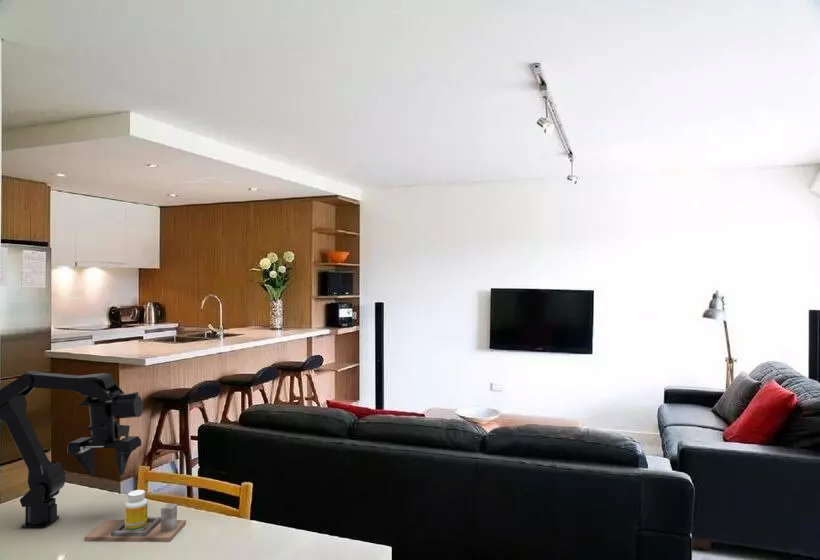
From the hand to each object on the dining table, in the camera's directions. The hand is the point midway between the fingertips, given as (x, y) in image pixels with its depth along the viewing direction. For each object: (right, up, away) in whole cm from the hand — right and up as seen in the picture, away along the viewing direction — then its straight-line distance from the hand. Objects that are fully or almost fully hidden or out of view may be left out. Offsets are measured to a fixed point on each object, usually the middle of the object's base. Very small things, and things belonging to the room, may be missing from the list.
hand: (107, 475), depth 149 cm
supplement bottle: (+11, -12, -6) cm, 18 cm away
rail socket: (+11, -13, -6) cm, 18 cm away
